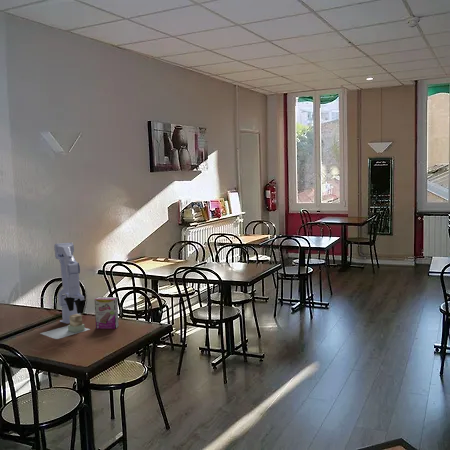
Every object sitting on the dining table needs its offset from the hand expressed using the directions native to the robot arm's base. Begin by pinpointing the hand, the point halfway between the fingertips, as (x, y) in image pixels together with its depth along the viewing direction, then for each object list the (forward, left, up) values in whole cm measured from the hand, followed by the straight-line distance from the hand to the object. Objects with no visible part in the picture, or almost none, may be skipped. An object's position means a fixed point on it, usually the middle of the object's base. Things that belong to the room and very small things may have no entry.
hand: (75, 311), depth 274 cm
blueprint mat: (+4, -4, -10) cm, 12 cm away
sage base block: (0, 0, -10) cm, 10 cm away
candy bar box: (-13, +9, -11) cm, 19 cm away
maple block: (0, 0, -7) cm, 7 cm away
